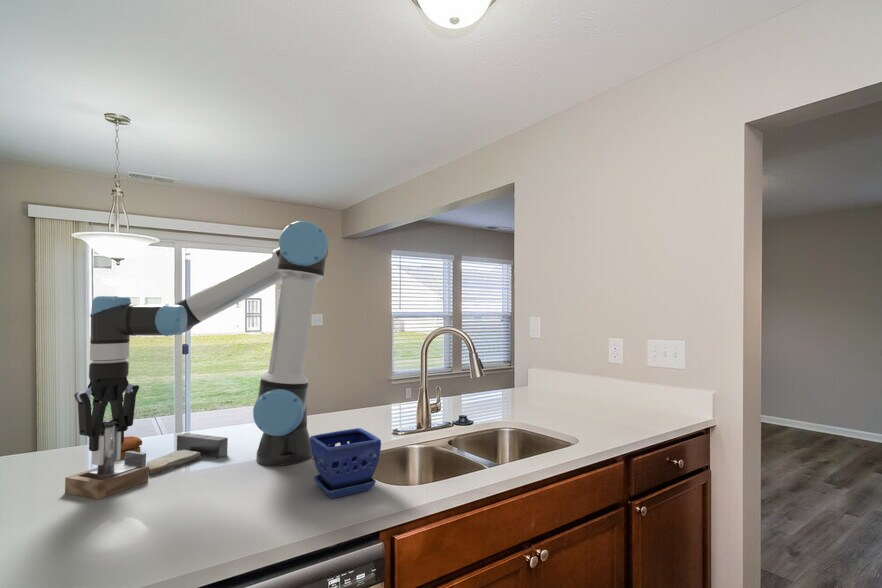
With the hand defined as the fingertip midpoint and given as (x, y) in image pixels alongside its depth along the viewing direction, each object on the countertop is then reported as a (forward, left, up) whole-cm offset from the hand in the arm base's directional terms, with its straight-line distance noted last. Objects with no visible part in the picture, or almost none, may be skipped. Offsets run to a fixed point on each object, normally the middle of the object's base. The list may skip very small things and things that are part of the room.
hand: (106, 461), depth 104 cm
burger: (+22, -19, -6) cm, 30 cm away
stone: (0, -18, -7) cm, 19 cm away
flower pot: (-53, -18, -6) cm, 56 cm away
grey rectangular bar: (0, -27, -6) cm, 27 cm away
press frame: (0, -1, -6) cm, 6 cm away
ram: (0, -3, -5) cm, 6 cm away
